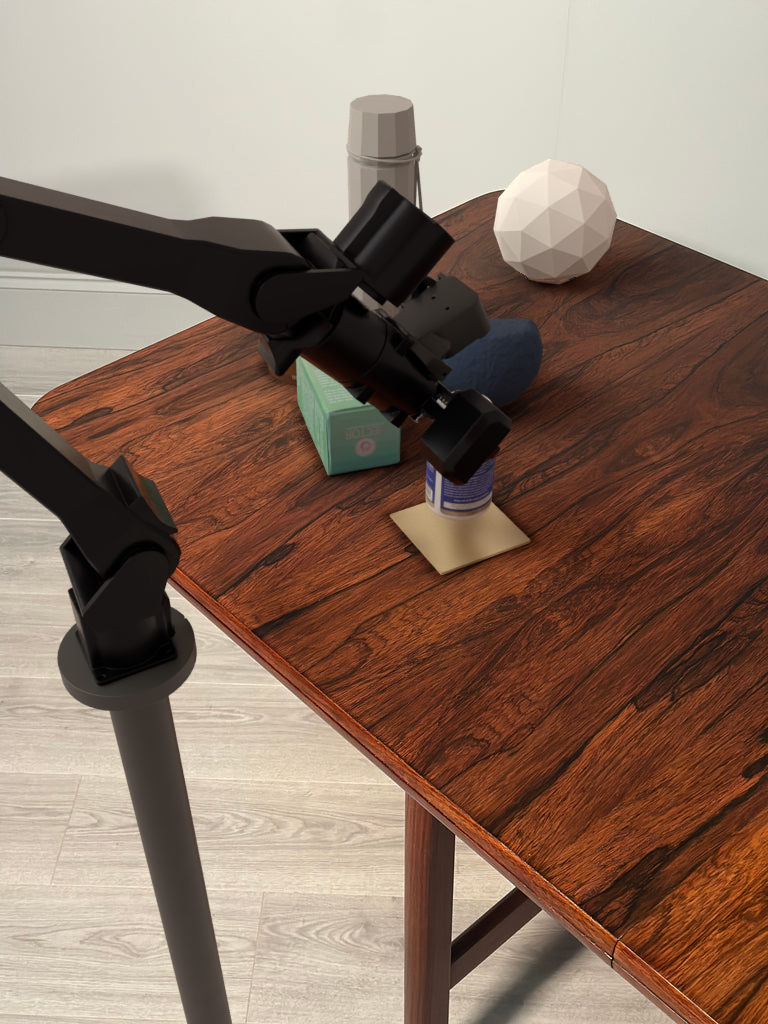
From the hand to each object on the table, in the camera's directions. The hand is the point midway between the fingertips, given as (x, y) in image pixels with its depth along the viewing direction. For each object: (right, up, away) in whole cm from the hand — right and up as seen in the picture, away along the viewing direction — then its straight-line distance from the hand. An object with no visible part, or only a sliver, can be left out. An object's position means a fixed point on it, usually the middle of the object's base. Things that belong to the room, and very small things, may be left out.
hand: (476, 435), depth 86 cm
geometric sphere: (+13, +23, +46) cm, 53 cm away
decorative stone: (+2, +5, +22) cm, 23 cm away
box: (-11, +1, +17) cm, 21 cm away
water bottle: (-7, +16, +36) cm, 40 cm away
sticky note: (-1, -8, +6) cm, 10 cm away
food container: (-18, +9, +28) cm, 35 cm away
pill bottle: (-1, -6, +4) cm, 7 cm away
